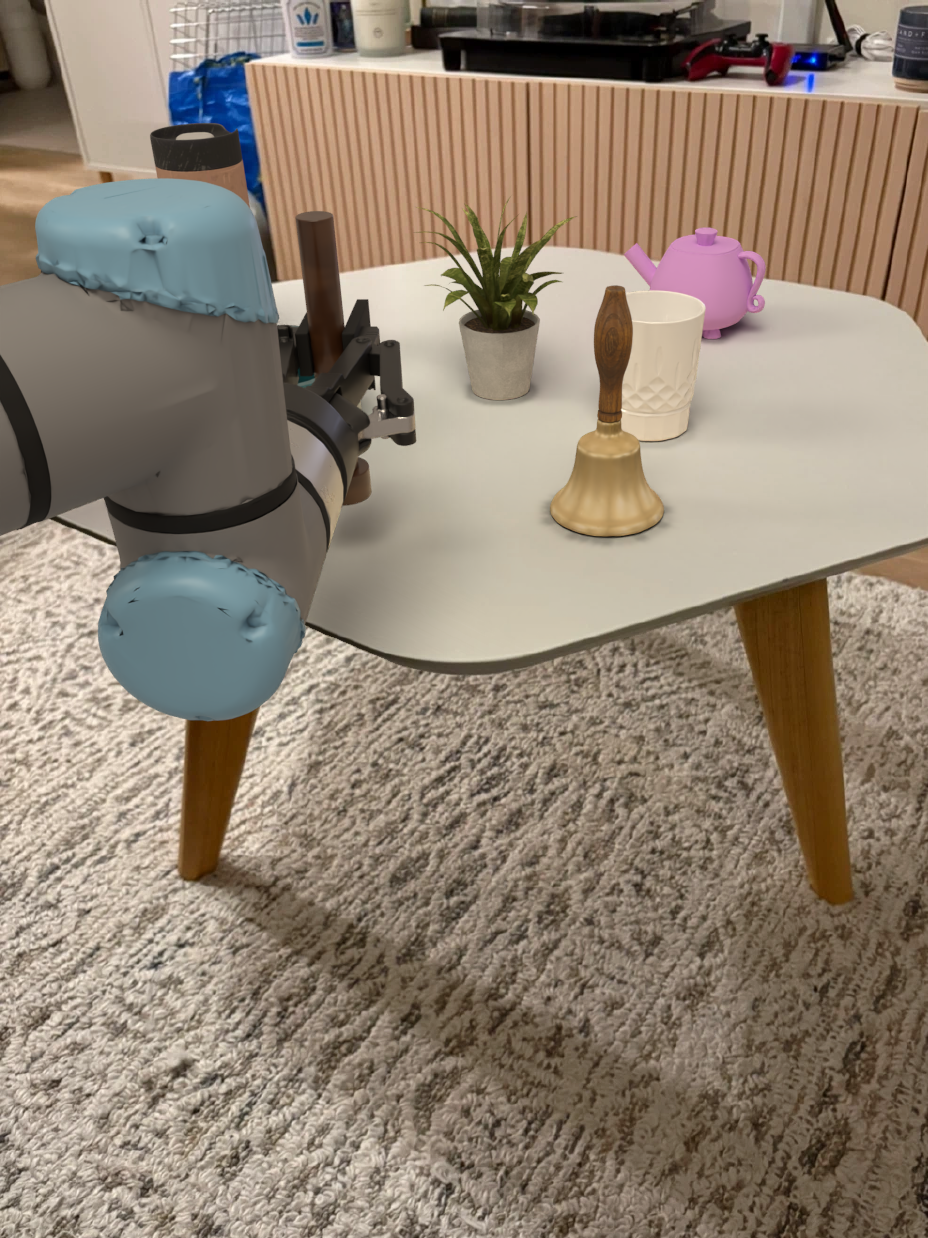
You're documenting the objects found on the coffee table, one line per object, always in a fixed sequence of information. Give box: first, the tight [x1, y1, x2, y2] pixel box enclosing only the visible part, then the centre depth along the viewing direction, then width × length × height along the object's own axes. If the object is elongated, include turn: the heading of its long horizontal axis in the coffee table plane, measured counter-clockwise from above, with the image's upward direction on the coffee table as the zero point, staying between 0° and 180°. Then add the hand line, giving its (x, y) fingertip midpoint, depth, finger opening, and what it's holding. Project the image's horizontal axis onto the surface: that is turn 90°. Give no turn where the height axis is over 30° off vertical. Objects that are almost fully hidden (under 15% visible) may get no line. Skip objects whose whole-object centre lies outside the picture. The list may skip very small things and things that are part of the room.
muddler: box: [295, 210, 373, 507], centre depth 69 cm, size 4×4×18 cm
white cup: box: [621, 289, 706, 442], centre depth 89 cm, size 8×8×10 cm
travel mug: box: [149, 122, 251, 209], centre depth 101 cm, size 8×8×20 cm
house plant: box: [412, 194, 578, 401], centre depth 94 cm, size 14×14×16 cm
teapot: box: [623, 227, 767, 340], centre depth 109 cm, size 10×15×9 cm
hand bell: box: [549, 284, 665, 537], centre depth 76 cm, size 8×8×16 cm
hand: (342, 319), depth 73 cm, fingers closed on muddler, 2 cm apart
